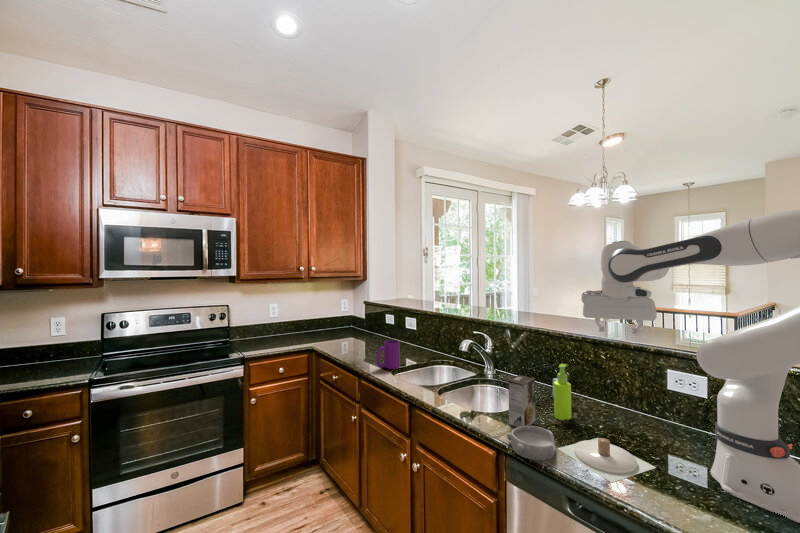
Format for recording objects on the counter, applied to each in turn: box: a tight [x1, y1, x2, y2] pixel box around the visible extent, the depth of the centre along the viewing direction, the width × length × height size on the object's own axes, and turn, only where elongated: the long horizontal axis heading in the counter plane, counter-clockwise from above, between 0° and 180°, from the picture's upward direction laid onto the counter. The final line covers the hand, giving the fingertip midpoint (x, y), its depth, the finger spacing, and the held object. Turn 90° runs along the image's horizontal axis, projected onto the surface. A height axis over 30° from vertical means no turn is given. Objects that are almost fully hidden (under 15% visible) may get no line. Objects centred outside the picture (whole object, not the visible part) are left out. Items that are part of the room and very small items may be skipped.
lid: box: [574, 437, 637, 474], centre depth 99 cm, size 16×16×5 cm
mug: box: [375, 339, 401, 370], centre depth 193 cm, size 9×16×15 cm, turn 129°
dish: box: [506, 425, 557, 461], centre depth 104 cm, size 14×14×5 cm
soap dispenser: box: [553, 363, 572, 421], centre depth 127 cm, size 6×7×20 cm
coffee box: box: [507, 374, 536, 428], centre depth 123 cm, size 9×6×16 cm
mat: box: [556, 437, 657, 483], centre depth 99 cm, size 18×18×1 cm
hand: (618, 332), depth 109 cm, fingers open, 8 cm apart
